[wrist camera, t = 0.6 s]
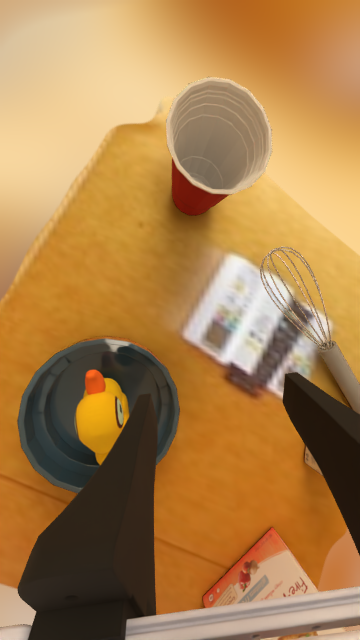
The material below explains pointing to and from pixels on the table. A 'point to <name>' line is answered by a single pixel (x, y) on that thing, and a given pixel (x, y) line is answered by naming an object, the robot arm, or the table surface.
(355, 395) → the kitchen whisk
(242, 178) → the plastic cup
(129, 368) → the bowl
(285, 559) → the cracker box
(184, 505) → the table surface
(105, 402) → the duckling
